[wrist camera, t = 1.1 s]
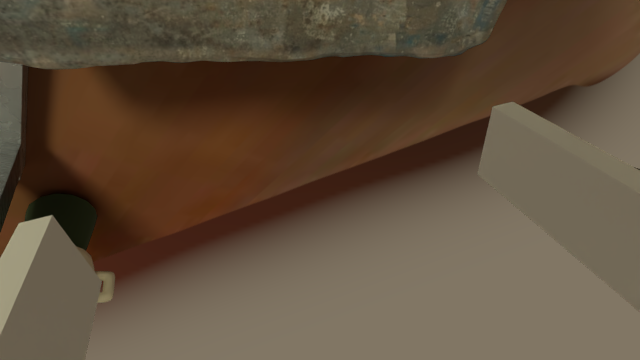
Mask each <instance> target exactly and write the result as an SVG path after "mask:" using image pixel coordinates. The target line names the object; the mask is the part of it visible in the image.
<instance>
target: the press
mask: <svg viewBox="0 0 640 360" xmlns="http://www.w3.org/2000/svg"><path fill="white" fill-rule="evenodd" d="M27 92H28V66H26V65H23V64H16V63H6V62H0V232H1V229H2V226H3V223H4V221H5V218H6V215H7V212H8V209H9V206H10V203H11V200H12V198H13V195H14V192H15V189H16V186H17V183H18V180H20V178H21V175H22V172H23V169H24V167H25V152H26V122H27Z"/></svg>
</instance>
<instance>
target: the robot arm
mask: <svg viewBox="0 0 640 360" xmlns="http://www.w3.org/2000/svg"><path fill="white" fill-rule="evenodd" d="M477 174H478V175H479V176H480V177H481V178H483V179H484V180H485V181H486V182H487V183H488V184H489V185H491V186H492V187H493V188H494V189H495V190H496V191H498V192H499V193H500V194H501V195H502V196H504V197H505V198H506V199H507V200H508V201H509V202H511V203H512V204H513V205H514V206H515V207H517V208H518V209H519V210H520V211H521V212H522V213H524V214H525V215H526V216H527V217H528V218H529V219H531V220H532V221H533V222H534V223H535V224H537V225H538V226H539V227H540V228H541V229H542V230H544V231H545V232H546V233H547V234H548V235H549V236H551V237H552V238H553V239H554V240H555V241H557V242H558V243H559V244H560V245H561V246H562V247H564V248H565V249H566V250H567V251H569V252H570V253H571V254H572V255H573V256H574V257H575V258H577V259H578V260H579V261H580V262H581V263H582V264H584V265H585V266H586V267H587V268H588V269H589V270H591V271H592V272H593V273H594V274H595V275H597V276H598V277H599V278H600V279H601V280H602V281H604V282H605V283H606V284H607V285H608V286H609V287H611V288H612V289H613V290H614V291H615V292H617V293H618V294H619V295H620V296H622V297H623V298H624V299H625V300H626V301H627V302H628V303H630V304H631V305H632V306H633V307H634V308H635V309H637V310H638V311H639V312H640V169H638V168H635V167H632V166H631V165H629V164H627V163H625V162H623V161H621V160H619V159H618V158H616V157H614V156H612V155H610V154H608V153H606V152H605V151H603V150H601V149H599V148H597V147H595V146H594V145H592V144H590V143H588V142H586V141H584V140H582V139H580V138H579V137H577V136H575V135H573V134H571V133H570V132H568V131H566V130H564V129H562V128H560V127H559V126H557V125H555V124H553V123H551V122H549V121H547V120H545V119H544V118H542V117H540V116H538V115H536V114H534V113H532V112H531V111H529V110H527V109H525V108H523V107H522V106H520V105H518V104H516V103H514V102H509V103H505V104H501V105H497V106H493V108H492V112H491V116H490V121H489V125H488V129H487V134H486V138H485V143H484V147H483V151H482V156H481V160H480V165H479V169H478V173H477ZM101 283H102V281H101V280H100V278H99V277H98V276H97V274H96V273H95V272H94V270H93V269H92V268H91V266H90V265H89V264H88V262H87V261H86V260H85V258H84V257H83V256H82V254H81V253H80V252H79V250H78V249H77V247H76V246H75V245H74V243H73V242H72V241H71V239H70V238H69V237H68V235H67V234H66V233H65V231H64V230H63V229H62V227H61V226H60V225H59V223H58V222H57V221H56V219H55V218H54V217H53V215H50V216H46V217H42V218H38V219H34V220H30V221H26V222H22V223H19V224H18V226H17V228H16V230H15V232H14V234H13V235H12V237H11V239H10V241H9V243H8V245H7V247H6V249H5V251H4V252H3V254H2V256H1V258H0V360H85V357H86V353H87V348H88V343H89V339H90V334H91V330H92V325H93V320H94V316H95V311H96V306H97V302H98V297H99V293H100V288H101Z"/></svg>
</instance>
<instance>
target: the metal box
mask: <svg viewBox="0 0 640 360" xmlns="http://www.w3.org/2000/svg"><path fill="white" fill-rule="evenodd" d="M506 1H507V0H0V62H6V63H16V64H23V65H26V66H30V67H35V68H41V69H77V68H86V67H92V66H108V65H126V64H137V63H141V62H156V61H167V62H174V63H186V62H194V61H215V62H237V61H269V62H290V61H302V60H314V59H318V58H322V57H330V56H339V57H349V56H360V55H380V56H385V57H394V56H410V57H415V58H438V57H444V56H456V55H459V54H462V53H463V52H465V51H466V50H468V49H470V48H472V47H474V46H476V45H480V44H482V43H484V42H485V41H486V40H487V39H488V38H489V36H490V34H491V32H492V30H493V28H494V26H495V23H496V21H497V19H498V17H499V15H500V13H501V11H502V9H503V8H504V6H505V4H506Z"/></svg>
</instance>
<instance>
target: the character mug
mask: <svg viewBox="0 0 640 360" xmlns="http://www.w3.org/2000/svg"><path fill="white" fill-rule="evenodd" d="M50 215H53V217H54V218H55V219H56V221H57V222H58V223H59V225H60V226H61V227H62V229H63V230H64V231H65V233H66V234H67V235H68V237H69V238H70V239H71V241H72V242H73V243H74V245H75V246H76V247H77V249H78V250H79V252H80V253H81V254H82V256H83V257H84V258H85V260H86V261H87V262H88V264H89V265H90V266H91V268H92V269H93V270H94V266H93V262H92V258H91V255H90V254H88V253H87V252H86V249H87V246H88V244H89V241H90V238H91V235H92V232H93V230H94V226H95V223H96V219H97V214H96V210H95V208H94V207H93V206H92V205H91V204H90V203H88V202H87V201H86V200H84V199H81V198H79V197H77V196H74V195H68V194H52V195H48V196H43V197H40V198H38V199H37V200H35V201H34V202H32V203H31V204H29V207H28V209H27V211H26V215H25V222H26V221H30V220H34V219H38V218H42V217H46V216H50ZM94 272H95V273H96V274H97V276H98V277H99V278H100V280H101V281H104V283H103V292H100V293H99V297H98V302H97V303H100V302H107V301H110V300H112V297H113V294H114V283H115V275H114V273H113V272H110V271H94Z"/></svg>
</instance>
